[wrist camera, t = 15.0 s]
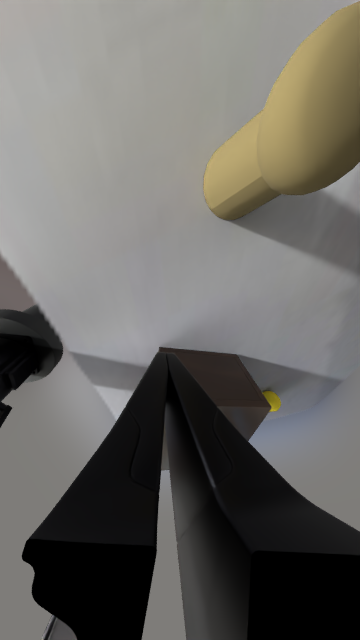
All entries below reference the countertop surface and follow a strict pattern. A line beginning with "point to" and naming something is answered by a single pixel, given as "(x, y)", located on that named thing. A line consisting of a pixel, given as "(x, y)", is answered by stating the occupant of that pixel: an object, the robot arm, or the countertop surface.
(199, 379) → the cabinet
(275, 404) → the light bulb
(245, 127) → the cork
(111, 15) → the countertop surface
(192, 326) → the countertop surface
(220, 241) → the countertop surface
